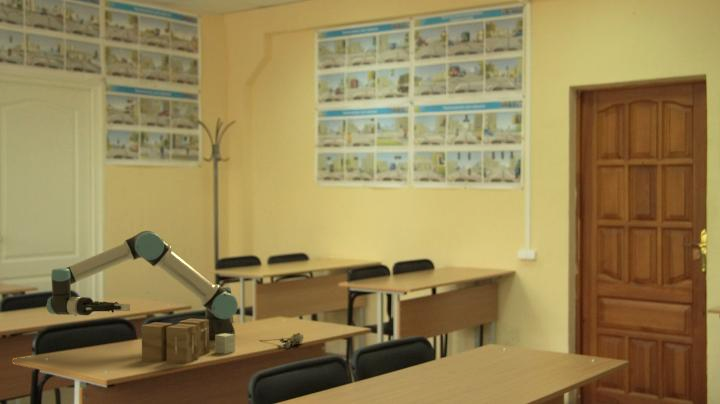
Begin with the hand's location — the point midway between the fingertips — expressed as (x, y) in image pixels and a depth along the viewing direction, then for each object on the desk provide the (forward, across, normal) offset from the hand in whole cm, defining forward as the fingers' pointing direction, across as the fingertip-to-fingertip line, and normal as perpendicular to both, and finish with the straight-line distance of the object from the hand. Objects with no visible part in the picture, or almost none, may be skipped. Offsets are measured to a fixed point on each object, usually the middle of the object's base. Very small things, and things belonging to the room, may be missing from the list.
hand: (128, 307), depth 376 cm
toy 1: (-1, -77, -21) cm, 80 cm away
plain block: (+15, +3, -20) cm, 25 cm away
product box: (+33, -19, -21) cm, 44 cm away
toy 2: (+48, -42, -22) cm, 67 cm away
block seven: (+24, -11, -20) cm, 33 cm away
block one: (+27, +3, -20) cm, 33 cm away
